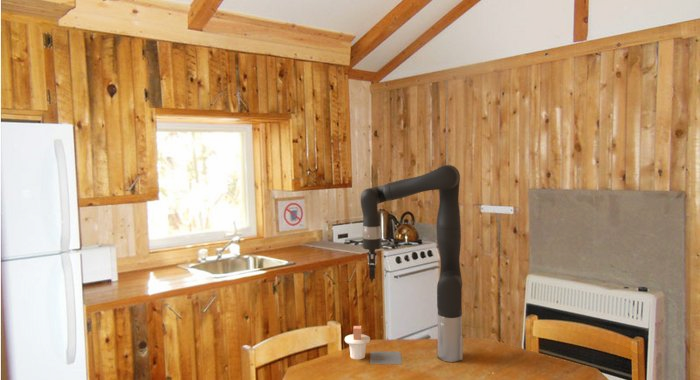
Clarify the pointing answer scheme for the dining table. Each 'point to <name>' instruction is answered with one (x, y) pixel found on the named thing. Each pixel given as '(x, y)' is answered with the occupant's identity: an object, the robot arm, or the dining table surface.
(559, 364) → the dining table surface
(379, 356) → the mat
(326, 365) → the dining table surface
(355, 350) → the white cup
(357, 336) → the lid
